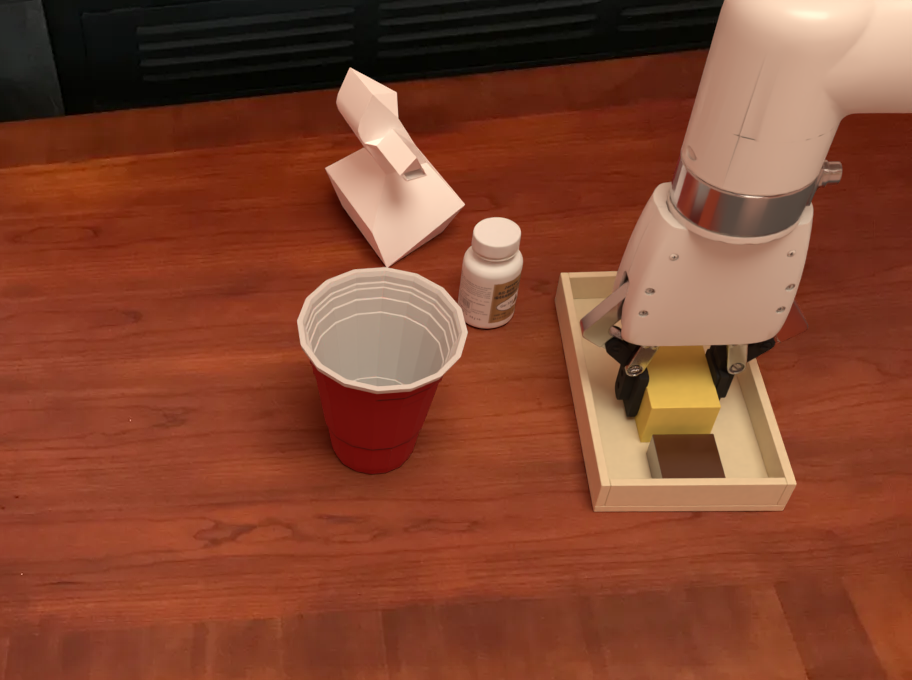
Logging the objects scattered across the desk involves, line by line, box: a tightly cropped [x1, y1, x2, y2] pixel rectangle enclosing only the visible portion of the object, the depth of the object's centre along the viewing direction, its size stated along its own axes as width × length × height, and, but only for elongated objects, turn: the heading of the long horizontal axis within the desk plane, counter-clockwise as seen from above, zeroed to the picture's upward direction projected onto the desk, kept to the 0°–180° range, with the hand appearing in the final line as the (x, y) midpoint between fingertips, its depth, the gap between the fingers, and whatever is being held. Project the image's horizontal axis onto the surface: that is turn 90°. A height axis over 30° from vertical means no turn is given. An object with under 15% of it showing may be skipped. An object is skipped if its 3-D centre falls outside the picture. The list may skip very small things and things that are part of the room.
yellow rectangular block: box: [635, 345, 721, 442], centre depth 80 cm, size 4×7×4 cm, turn 176°
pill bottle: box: [457, 216, 524, 329], centre depth 87 cm, size 4×4×8 cm
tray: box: [554, 270, 797, 513], centre depth 82 cm, size 12×21×3 cm, turn 176°
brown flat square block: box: [646, 434, 726, 479], centre depth 77 cm, size 4×4×2 cm
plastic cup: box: [296, 266, 469, 475], centre depth 78 cm, size 11×11×12 cm
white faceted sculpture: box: [324, 67, 466, 268], centre depth 92 cm, size 8×14×14 cm, turn 19°
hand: (666, 400), depth 81 cm, fingers closed on yellow rectangular block, 4 cm apart
